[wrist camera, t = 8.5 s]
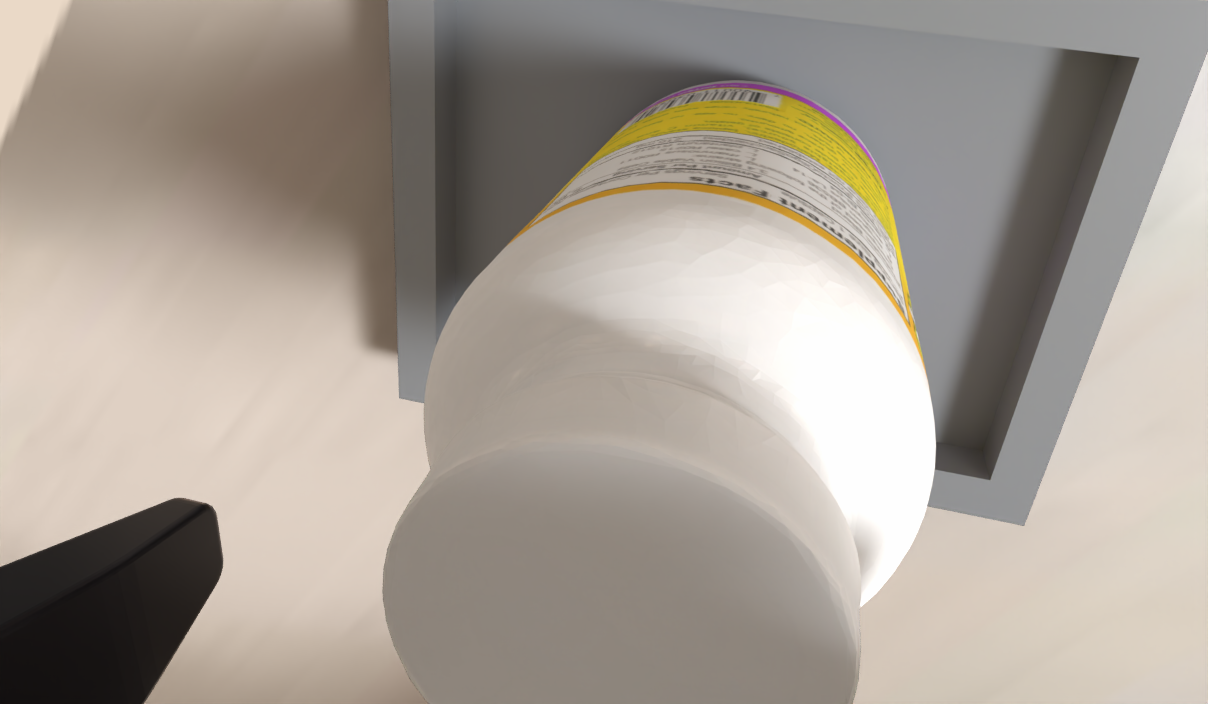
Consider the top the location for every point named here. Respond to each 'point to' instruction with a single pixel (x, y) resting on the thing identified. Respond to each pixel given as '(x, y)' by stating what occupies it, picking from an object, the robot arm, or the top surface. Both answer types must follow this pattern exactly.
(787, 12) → the tray
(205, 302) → the top surface
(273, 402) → the top surface
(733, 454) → the supplement bottle
